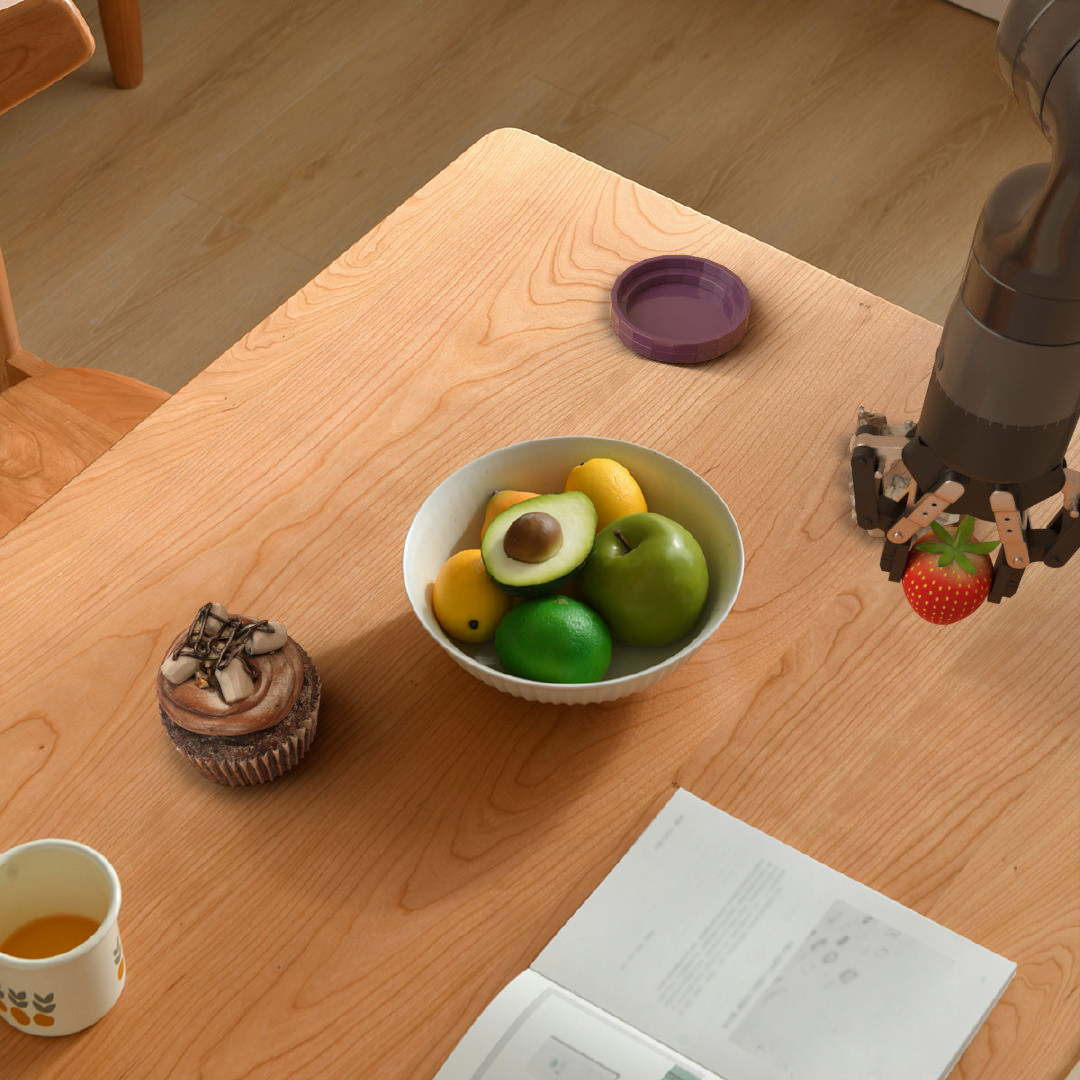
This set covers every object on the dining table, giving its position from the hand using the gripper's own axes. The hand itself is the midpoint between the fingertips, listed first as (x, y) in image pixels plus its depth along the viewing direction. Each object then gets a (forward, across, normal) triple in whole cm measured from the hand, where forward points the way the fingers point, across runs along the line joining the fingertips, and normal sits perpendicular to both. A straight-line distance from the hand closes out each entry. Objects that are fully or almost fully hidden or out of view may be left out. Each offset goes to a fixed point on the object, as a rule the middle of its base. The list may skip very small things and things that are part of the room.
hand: (944, 580), depth 80 cm
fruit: (+4, 0, 0) cm, 4 cm away
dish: (+9, +22, -29) cm, 38 cm away
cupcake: (+9, +39, +17) cm, 43 cm away
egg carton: (+10, +3, -15) cm, 18 cm away
